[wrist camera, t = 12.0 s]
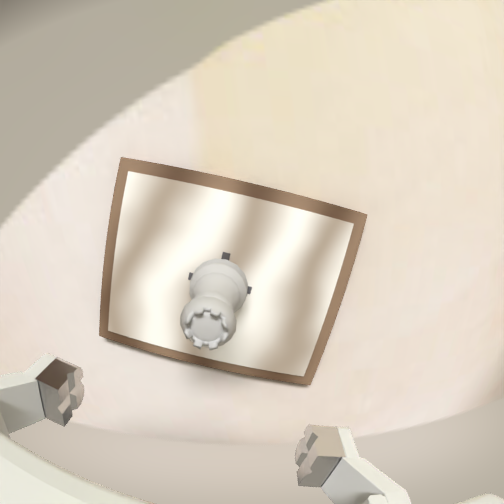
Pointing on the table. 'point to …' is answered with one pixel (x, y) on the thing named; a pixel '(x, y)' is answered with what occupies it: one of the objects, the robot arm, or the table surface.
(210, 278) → the rook chess piece
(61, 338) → the table surface
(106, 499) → the robot arm
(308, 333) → the brown-bordered mat
